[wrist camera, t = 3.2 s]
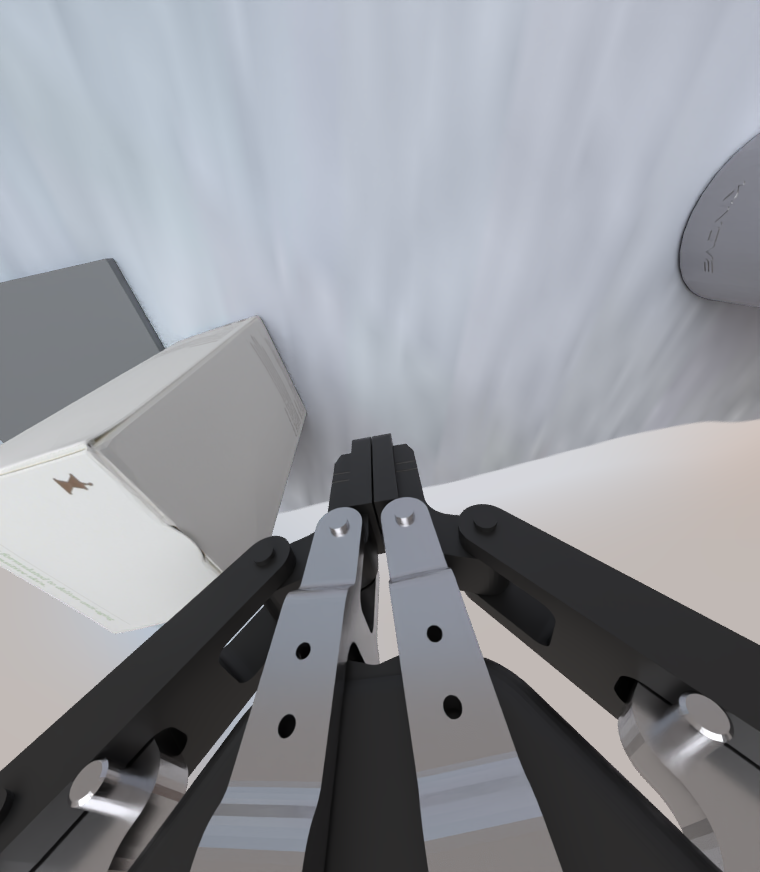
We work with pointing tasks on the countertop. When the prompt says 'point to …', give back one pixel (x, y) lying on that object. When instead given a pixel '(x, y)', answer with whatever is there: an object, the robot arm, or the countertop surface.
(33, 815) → the robot arm
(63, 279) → the mat
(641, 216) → the countertop surface
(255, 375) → the skincare box
